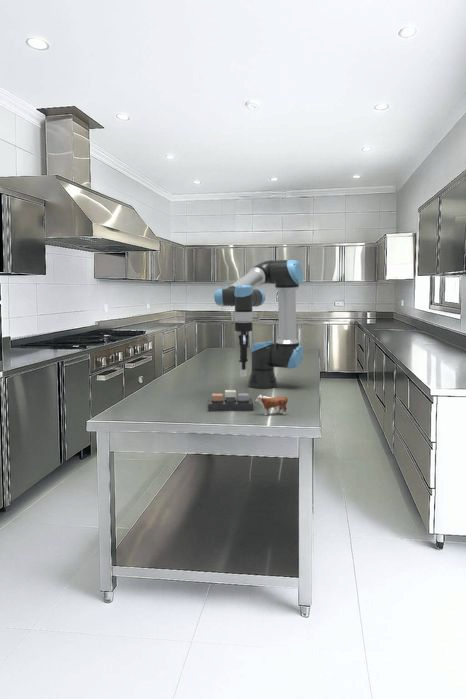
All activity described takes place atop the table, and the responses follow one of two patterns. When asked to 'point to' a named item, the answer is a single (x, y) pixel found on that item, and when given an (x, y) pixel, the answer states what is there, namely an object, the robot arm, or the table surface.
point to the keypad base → (230, 405)
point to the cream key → (230, 395)
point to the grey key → (243, 397)
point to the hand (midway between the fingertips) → (243, 376)
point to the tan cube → (217, 397)
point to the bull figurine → (272, 403)
